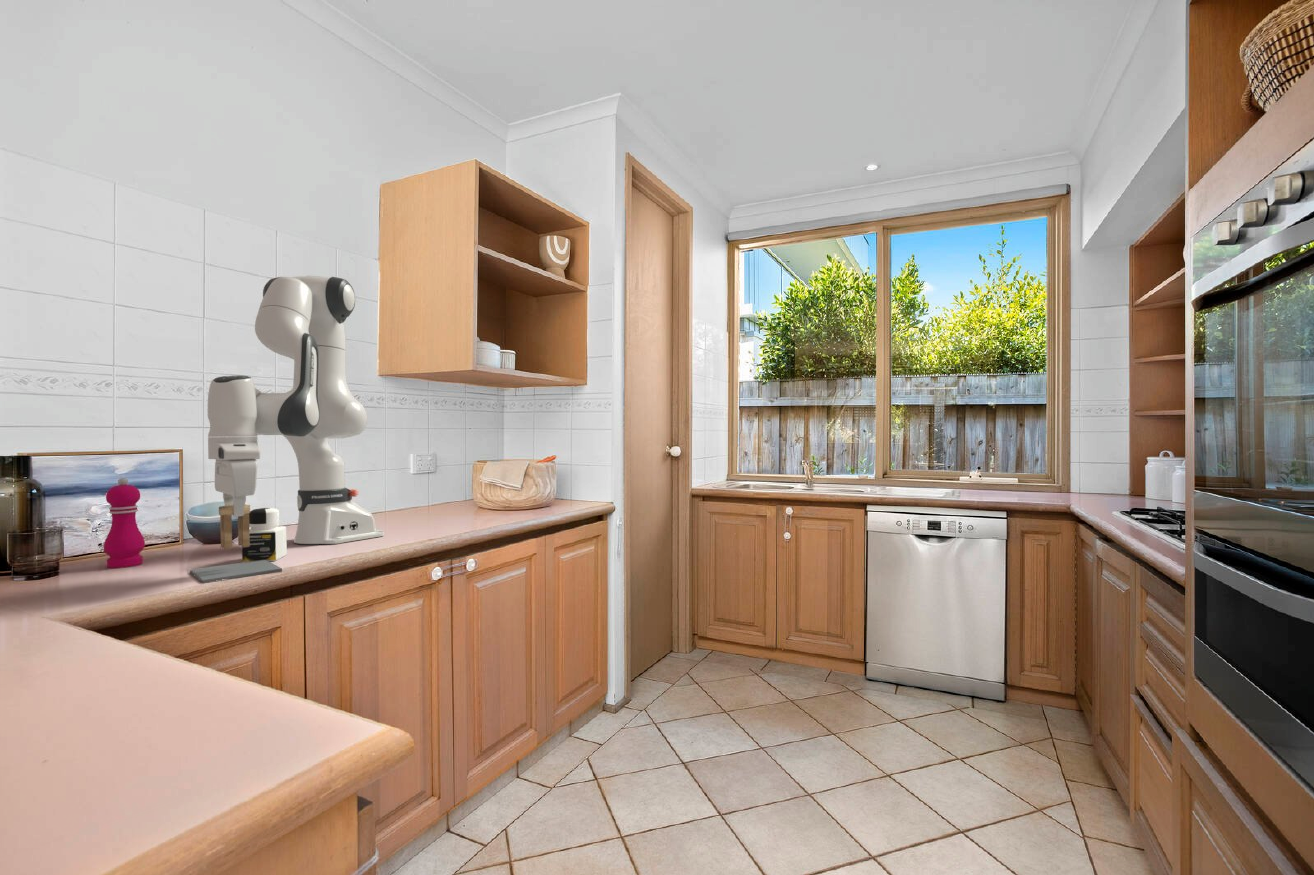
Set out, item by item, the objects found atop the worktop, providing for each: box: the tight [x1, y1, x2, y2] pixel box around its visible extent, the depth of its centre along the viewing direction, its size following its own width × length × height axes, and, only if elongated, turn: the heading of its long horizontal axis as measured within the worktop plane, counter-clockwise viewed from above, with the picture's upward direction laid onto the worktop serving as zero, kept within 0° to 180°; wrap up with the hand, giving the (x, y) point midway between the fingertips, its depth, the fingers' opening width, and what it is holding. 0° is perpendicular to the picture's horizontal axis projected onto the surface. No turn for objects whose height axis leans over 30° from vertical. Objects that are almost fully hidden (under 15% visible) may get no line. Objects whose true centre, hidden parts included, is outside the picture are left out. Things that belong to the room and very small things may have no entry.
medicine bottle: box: [241, 507, 288, 563], centre depth 149 cm, size 7×7×12 cm
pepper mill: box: [103, 477, 146, 569], centre depth 144 cm, size 7×7×20 cm
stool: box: [218, 504, 251, 550], centre depth 135 cm, size 6×6×9 cm
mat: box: [189, 559, 283, 583], centre depth 135 cm, size 14×14×1 cm
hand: (234, 514), depth 135 cm, fingers closed on stool, 6 cm apart
